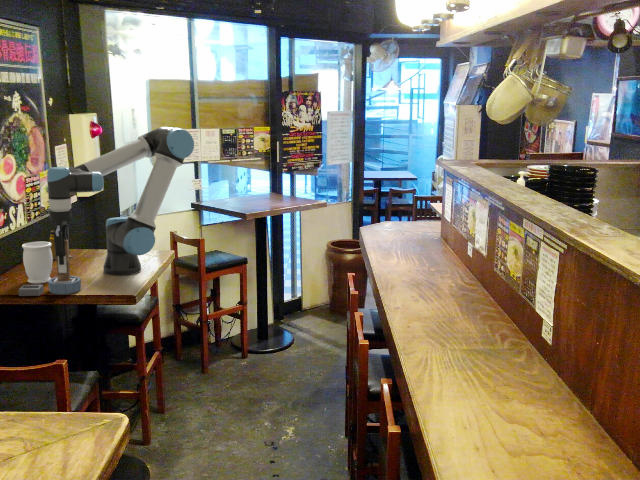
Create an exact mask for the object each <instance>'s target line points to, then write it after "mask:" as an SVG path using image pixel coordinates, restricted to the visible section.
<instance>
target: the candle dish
mask: <svg viewBox="0 0 640 480" xmlns="http://www.w3.org/2000/svg"><path fill="white" fill-rule="evenodd" d="M47 284H48V290H49V293H50V294H52V295H57V296H58V295H62V296H63V295H70V294H71V295H72V294H76V293H78V292H80V291H81V290H82V278H81V277H80V276H77V275H76V276H75V275H70V281H58V276H54V277H52V278H51V279H50V280H49V281H48V282H47Z"/></svg>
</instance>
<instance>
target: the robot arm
mask: <svg viewBox="0 0 640 480" xmlns="http://www.w3.org/2000/svg"><path fill="white" fill-rule="evenodd" d="M194 141H195V140H194V138H193V136H192V134H191V133H190V132H189V131H188V130H186V129H183V128H181V127H171V126H160V127H158V128H155V129H153V130H150V131H148V132H146V133H144V134H142V135H140V136H138V137H137V140H134V141H132V142H130V143H127V144H125V145H123V146H120V147H118V148H116V149H113V150H111V151H110V152H109V151H108V152H107V153H104V154H102V155H100V156H98V157H95V158H93V159H91V160H88V161H86V162H84V163H82V164H80V165H76V166H75V167H74V166H73V167H71V166H70V167H62V166H51V167H49V168H48V169H47V173H46V176H47V177H46V181H47V192H48V193H47V194H48V200H47V201H46V202H47V204H48V208H49V213H48V215H49V221H50V222H55V225H54V230H55V231H54V230H53V231H54V232H53V233H54V239H55V249H56V255H55V256H58V268H59V273H67V265H66V255H65V240H68V244H69V245H70V234H69V232H70V230H69V229H70V224H67V222H69V221H71V220H72V219H73V215H72V210H71V209H72V196H71V195H72V194H75V193H77V194H78V193H96V192H101V191H102V190H103V188H104V186H105V185H104V184H105V181H104V176H107V175H109V174H111V173H113V172H116V171H117V170H120V169H121V168H124V167H126V166H129V165H130V164H133V163H135V162H137V161H140V160H142V159H144V158H148V159H150V158H152V157H155V162H154V163H153V167H152V169H151V171H150V174H149V176H148V178H147V180H146V181H147V182H146V184H145V186H144V188H143V191H142V193H141V195H140V197H139V200H138V202H137V205H136V207H135V209H134V212H133V214H131V215H128V216H121V217H120V216H119V217H110V218H107V219H106V220H105V233H106V234H105V236H106V257H105V261H104V263H103V266H102V267H103V273H104V274H106V275H109V276H110V275H111V276H128V275H133V274H134V273H135V274H137V273H136V272H138V273H140V272H141V271H142V265H141V264H142V263H141V262H140V259H139V256H143V255H146V254H148V253H150V251H152V249H153V248H154V246H155V243H156V236H155V231H156V229H157V226H156V223H155V220H156V218H157V217H158V213H159V211H160V209H161V207H162V203H163V202H164V199H165V197H166V194H167V191H168V190H169V187H170V186H171V185H170V184H171V181H172V179H173V177H174V175H175V172H176V169H178V167H182V166H183V163H184V160H185V159H186V158H188V157H190V156H191V154H192V153H193V152H194V149H195V142H194ZM70 253H71V251H70V250H69V254H70ZM140 270H141V271H140ZM139 271H140V272H139Z"/></svg>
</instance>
